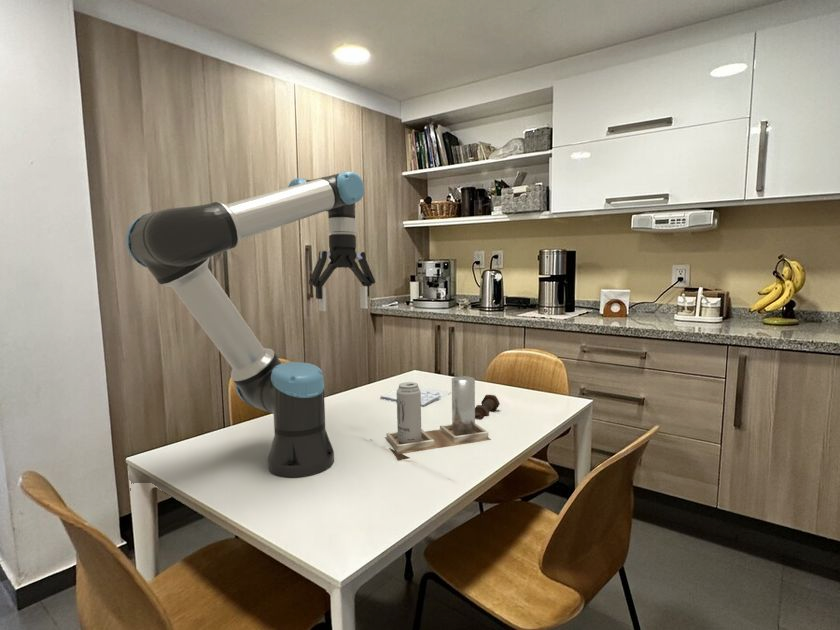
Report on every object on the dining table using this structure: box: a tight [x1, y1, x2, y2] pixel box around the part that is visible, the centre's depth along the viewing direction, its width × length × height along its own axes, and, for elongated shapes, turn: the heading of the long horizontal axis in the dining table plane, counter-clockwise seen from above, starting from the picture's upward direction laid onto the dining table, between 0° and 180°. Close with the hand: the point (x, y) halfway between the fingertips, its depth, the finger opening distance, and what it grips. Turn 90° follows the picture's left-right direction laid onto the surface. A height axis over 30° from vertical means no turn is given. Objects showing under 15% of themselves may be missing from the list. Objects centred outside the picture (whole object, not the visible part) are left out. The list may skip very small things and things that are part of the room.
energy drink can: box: [396, 381, 422, 444], centre depth 120 cm, size 6×6×15 cm
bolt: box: [475, 394, 500, 420], centre depth 145 cm, size 6×5×15 cm
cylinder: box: [451, 375, 476, 436], centre depth 125 cm, size 6×6×15 cm
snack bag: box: [379, 385, 452, 407], centre depth 169 cm, size 19×20×2 cm
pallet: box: [384, 423, 492, 461], centre depth 123 cm, size 25×12×3 cm, turn 110°
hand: (343, 309), depth 135 cm, fingers open, 13 cm apart
